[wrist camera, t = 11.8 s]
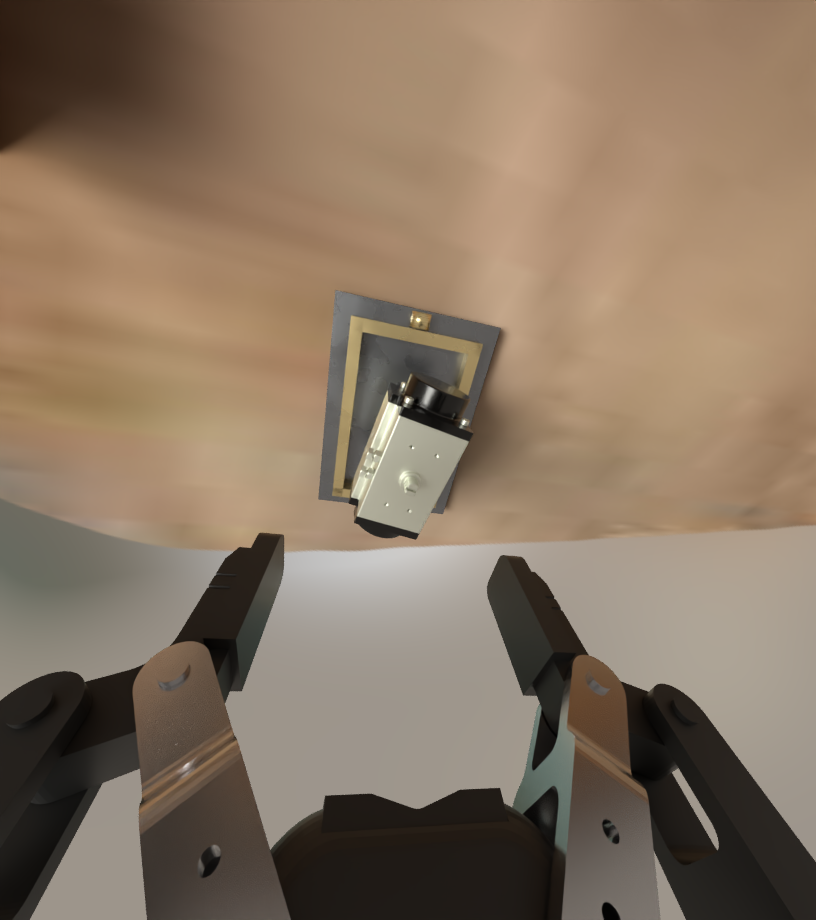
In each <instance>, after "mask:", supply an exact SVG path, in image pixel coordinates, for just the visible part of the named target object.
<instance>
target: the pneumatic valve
mask: <svg viewBox="0 0 816 920" xmlns="http://www.w3.org/2000/svg"><path fill="white" fill-rule="evenodd" d="M469 402H470V398H469V396H468V395H466V394H465V393H463V392H462V391H460V390H459V389H457V388H455V387H453V386H451V385H449V384H447V383H445V382H443V381H441V380H439V379H436V378H434V377H431V376H429V375H426V374H423V373H420V372H415V371H413V372H410V374H409V377H408V379H407V382H402V383H399V382H398V383H397V385H396V384H394V383H391V382H390V385H389V387H388V390H387V393H386V395H385V398H384V400H383V403H382V406H381V408H380V411H379V413H378V416H377V419H376V421H375V424H374V426H373V429H372V432H371V434H370V437H369V439H368V442H367V445H366V447H365V450H364V452H363V455H362V458H361V460H360V463H359V465H358V468H357V470H356V473H355V476H354V478H353V481H352V485H351V491H350V496H349V502H348V503H349V504H352V505H355V506H356V507H355V509H354V517H355V519H354V523H356V524H359V525H360V526H361V527H362V528H363V529H364V530H365V531H367V532H368V533H370V534H372V535H374V536H377V537H381V538H395V537H397V536H399V535H400V536H404V537H408V538H412V539H415V540H416V539H417V537H418V535H419V533H420V532H421V530H422V528H423V526H424V524H425V522H426V520H427V519H428V517H429V515H430V513H431V511H432V509H433V508H434V506H435V504H436V502H437V500H438V498H439V496H440V495H441V493H442V491H443V489H444V487H445V485H446V484H447V482H448V480H449V478H450V476H451V474H452V473H453V471H454V469H455V467H456V465H457V463H458V461H459V460H460V458H461V456H462V454H463V452H464V450H465V449H466V447H467V445H468V443H469V441H470V439H471V438H472V436H473V434H474V432H473V431H472V430H471V428H470V427H469V426H468V425H469V423H470V421H469V420H468V419H466V418H463V417H462V416H463V414H464V412H465V410H466V408H467V406H468V404H469Z"/></svg>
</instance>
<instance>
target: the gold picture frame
mask: <svg viewBox="0 0 816 920" xmlns="http://www.w3.org/2000/svg"><path fill="white" fill-rule="evenodd" d="M500 329H501V328H498V327H494V326H490V325H485V324H481V323H476V322H472V321H468V320H463V319H459V318H455V317H450V316H446V315H442V314H437V313H433V312H428V311H424V310H420V309H415V308H411V307H407V306H402V305H398V304H393V303H389V302H385V301H380V300H376V299H372V298H367V297H363V296H358V295H354V294H350V293H345V292H341V291H337V290H335V302H334V314H333V327H332V339H331V351H330V364H329V376H328V388H327V401H326V413H325V425H324V438H323V450H322V462H321V475H320V487H319V499H320V500H329V501H337V502H346V503H348V502H349V496H350V491H351V485H352V481H353V478H354V476H355V473H356V470H357V468H358V465H359V463H360V460H361V458H362V455H363V452H364V450H365V447H366V445H367V442H368V439H369V437H370V434H371V432H372V429H373V426H374V424H375V421H376V419H377V416H378V413H379V411H380V408H381V406H382V403H383V400H384V398H385V395H386V393H387V390H388V387H389V385H390V382H391V383H394V384H396V385H397V383H398V382H399V383H402V382H407V379H408V377H409V374H410V372H413V371H415V372H420V373H423V374H426V375H429V376H431V377H434V378H436V379H439V380H441V381H443V382H445V383H447V384H449V385H451V386H453V387H455V388H457V389H459V390H460V391H462V392H463V393H465V394H466V395H468V396H469V398H470V402H469V404H468V406H467V408H466V410H465V412H464V414H463V416H462V417H463V418H466V419H468V420H469V421H470V423H469V425H468V426H469V427H470V425H471V422H472V419H473V416H474V412H475V409H476V406H477V403H478V399H479V396H480V393H481V390H482V387H483V383H484V380H485V377H486V374H487V370H488V367H489V364H490V361H491V358H492V354H493V351H494V348H495V345H496V341H497V338H498V335H499V332H500ZM459 461H460V460H459ZM459 461H458V463H457V465H456V467H455V469H454V471H453V473H452V474H451V476H450V478H449V480H448V482H447V484H446V485H445V487H444V489H443V491H442V493H441V495H440V496H439V498H438V500H437V502H436V504H435V506H434V508H433V509H432V511H431V513H438V514H443V512H444V509H445V506H446V502H447V499H448V496H449V493H450V490H451V486H452V483H453V480H454V477H455V473H456V470H457V467H458V464H459Z"/></svg>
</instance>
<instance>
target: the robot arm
mask: <svg viewBox="0 0 816 920" xmlns="http://www.w3.org/2000/svg"><path fill="white" fill-rule="evenodd" d="M283 570H284V535H281V534H270V533H259V534H258V536H257V538H256V540H255V541H254V543H253V545H252V547H251V548H244V547H239V548H238V549H237V550H235V551H234V552H233V553H232V554H231V555H229V556H228V557H227V558H225V560H224V562H223V563H222V565H221V566H220V568H219V570H218V571H217V573H216V576H214V578H213V579H212V581H211V583H210V584H209V588H207V589H206V591H205V593H204V594H203V596H202V597H201V599H200V601H199V602H198V604H197V606H196V607H195V609H194V611H193V612H192V614H191V615H190V617H189V619H188V620H187V622H186V624H185V625H184V627H183V629H182V630H181V632H180V633H179V635H178V636H177V638H176V639H175V641H174V642H173V643H172V644H171V645H170V646H169V647H167V648H165V649H163V650H162V651H160V652H159V653H157V654H156V655H155V656H153V657H152V658H151V659H150V660H149V661H148V662H147V663H146V664H144V665H142V666H139V667H137V668H134V669H131V670H128V671H124V672H121V673H117V674H113V675H110V676H106V677H102V678H98V679H95V680H91V681H87V682H84V680H83V678H82V677H81V676H80V675H79V674H77V673H74V672H67V671H63V672H55V673H51V674H47V675H45V676H41V677H39V678H37V679H34V680H32V681H30V682H28V683H26V684H24V685H22V686H21V687H19V688H17V689H16V690H14V691H13V692H11V693H10V694H8V695H7V696H6V697H4V698H3V699H2V700H1V701H0V920H30V918H31V916H32V914H33V912H34V911H35V909H36V907H37V905H38V903H39V901H40V899H41V897H42V896H43V894H44V892H45V890H46V888H47V886H48V884H49V882H50V881H51V879H52V877H53V875H54V873H55V871H56V869H57V868H58V866H59V864H60V862H61V860H62V858H63V856H64V854H65V853H66V850H67V849H68V847H69V845H70V843H71V841H72V839H73V838H74V836H75V834H76V832H77V830H78V828H79V826H80V824H81V822H82V820H83V819H84V817H85V815H86V813H87V811H88V809H89V808H90V806H91V804H92V802H93V800H94V798H95V796H96V794H97V793H98V791H99V789H100V787H101V785H102V783H103V782H106V781H109V780H111V779H114V778H117V777H119V776H122V775H124V774H127V773H129V772H132V771H134V770H137V769H140V775H141V785H142V801H141V803H140V806H139V831H140V844H141V856H142V867H143V879H144V890H145V901H146V914H147V920H660V910H659V900H658V889H657V879H656V869H655V859H654V852H655V854H656V856H657V858H658V860H659V862H660V864H661V867H662V869H663V871H664V873H665V875H666V877H667V880H668V882H669V884H670V886H671V888H672V890H673V892H674V894H675V897H676V899H677V901H678V903H679V905H680V907H681V910H682V912H683V914H684V916H685V918H686V920H816V862H815V860H814V859H813V858H812V856H811V855H810V854H809V853H808V851H807V850H806V848H805V847H804V846H803V845H802V843H801V842H800V840H799V839H798V838H797V836H796V835H795V834H794V832H793V831H792V830H791V828H790V827H789V826H788V824H787V823H786V822H785V820H784V819H783V818H782V816H781V815H780V814H779V812H778V811H777V810H776V808H775V807H774V806H773V804H772V803H771V802H770V800H769V799H768V798H767V796H766V795H765V794H764V792H763V791H762V790H761V788H760V787H759V786H758V784H757V783H756V782H755V780H754V779H753V778H752V776H751V775H750V774H749V772H748V771H747V769H746V768H745V767H744V765H743V764H742V763H741V762H740V760H739V759H738V757H737V756H736V755H735V753H734V752H733V751H732V750H731V748H730V747H729V745H728V744H727V743H726V741H725V740H724V739H723V737H722V736H721V735H720V734H719V732H718V731H717V729H716V728H715V727H714V725H713V724H712V723H711V721H710V720H709V719H708V717H707V716H706V715H705V713H704V712H703V711H702V710H701V709H700V707H699V706H698V705H697V704H696V703H695V702H694V701H693V700H692V699H690V698H689V697H688V696H687V695H685V694H684V693H683V692H681V691H680V690H678V689H676V688H674V687H672V686H670V685H666V684H658V685H656V686H655V687H654V688H653V689H652V690H651V691H649V692H647V691H645V690H642V689H640V688H637V687H634V686H632V685H629V684H626V683H624V682H621V681H620V680H619V679H618V677H617V676H616V675H615V674H614V672H613V671H612V670H611V669H610V668H609V667H608V666H606V665H605V664H604V663H603V662H601V661H600V660H598V659H596V658H594V657H592V656H589V655H588V653H587V652H586V650H585V648H584V647H583V645H582V643H581V641H580V640H579V638H578V637H577V635H576V633H575V631H574V630H573V628H572V626H571V625H570V623H569V621H568V619H567V618H566V616H565V614H564V613H563V611H561V609H560V606H559V604H558V603H557V601H556V600H555V599H554V596H553V594H552V592H551V591H550V589H549V587H548V585H547V584H546V583H545V582H544V581H543V580H542V579H541V578H540V577H539V576H538V575H537V574H536V573H535V572H531V570H530V568H529V567H528V565H527V563H526V562H525V560H524V559H523V558H522V557H517V556H505V555H502V556H500V558H499V559H498V562H497V564H496V566H495V568H494V571H493V573H492V575H491V577H490V579H489V582H488V586H487V594H488V599H489V602H490V605H491V607H492V610H493V613H494V616H495V619H496V621H497V624H498V627H499V630H500V632H501V635H502V638H503V641H504V643H505V646H506V649H507V652H508V655H509V657H510V660H511V663H512V666H513V668H514V671H515V674H516V677H517V679H518V682H519V685H520V688H521V690H522V693H523V695H526V696H529V695H530V696H537V697H538V700H539V702H540V704H539V706H538V708H537V711H536V716H535V721H534V727H533V733H532V737H531V743H530V748H529V753H528V758H527V764H526V769H525V773H524V777H523V779H522V782H521V784H520V786H519V789H518V791H517V793H516V797H515V799H514V803H513V806H512V807H510V806H508V805H506V804H504V802H503V798H502V794H501V790H500V788H489V789H467V790H459V791H457V792H455V793H452V794H451V795H448V796H447V797H444V798H442V799H440V800H438V801H436V802H434V803H432V804H430V805H428V806H426V807H424V808H421V809H414V808H411V807H408V806H405V805H402V804H399V803H396V802H394V801H391V800H388V799H385V798H382V797H379V796H376V795H373V794H354V795H331V796H325V800H324V806H323V809H322V810H320V811H317V812H315V813H313V814H311V815H309V816H308V817H306V818H304V819H303V820H301V821H300V822H298V823H297V824H296V825H295V826H294V827H292V828H291V829H290V830H289V831H288V832H287V833H286V834H285V835H284V836H283V837H282V838H281V839H280V840H279V841H278V842H277V843H276V844H275V845H274V846H273V847H272V849H271V850H270V848H269V845H268V841H267V838H266V834H265V831H264V828H263V824H262V821H261V818H260V814H259V811H258V808H257V804H256V801H255V797H254V794H253V791H252V787H251V784H250V781H249V777H248V774H247V771H246V767H245V764H244V761H243V758H242V754H241V751H240V748H239V745H238V742H237V739H236V737H235V736H234V733H233V730H232V727H231V724H230V720H229V717H228V713H227V710H226V706H225V702H226V700H227V697H228V695H229V692H230V691H242V689H243V686H244V684H245V681H246V678H247V675H248V672H249V670H250V667H251V664H252V661H253V659H254V656H255V653H256V650H257V648H258V645H259V642H260V639H261V637H262V634H263V631H264V628H265V625H266V622H267V620H268V617H269V614H270V611H271V609H272V606H273V603H274V600H275V598H276V595H277V592H278V589H279V586H280V584H281V580H282V576H283ZM678 768H679V769H680V771H681V773H682V775H683V776H684V778H685V780H686V781H687V783H688V784H689V786H690V788H691V789H692V791H693V793H694V794H695V796H696V798H697V799H698V801H699V803H700V804H701V806H702V808H703V809H704V811H705V813H706V814H707V816H708V818H709V819H710V821H711V823H712V824H713V827H714V829H715V831H716V833H717V837H718V841H719V849H718V851H717V850H716V848H715V846H714V845H713V843H712V841H711V839H710V838H709V836H708V834H707V833H706V831H705V829H704V828H703V826H702V824H701V822H700V821H699V819H698V817H697V815H696V814H695V812H694V810H693V808H692V807H691V805H690V803H689V802H688V800H687V798H686V796H685V795H684V793H683V791H682V790H681V788H680V786H679V784H678V783H677V781H676V779H675V777H674V776H673V774H672V772H673V771H675V770H676V769H678Z"/></svg>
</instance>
